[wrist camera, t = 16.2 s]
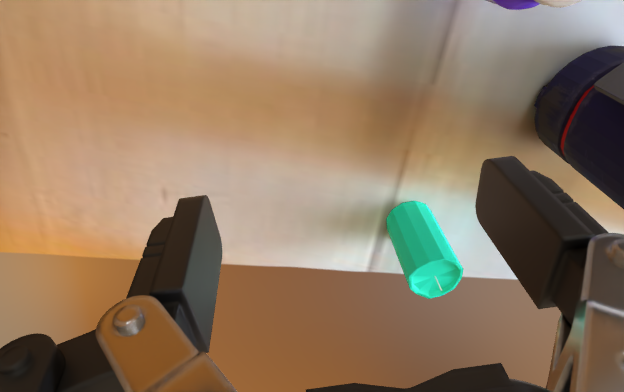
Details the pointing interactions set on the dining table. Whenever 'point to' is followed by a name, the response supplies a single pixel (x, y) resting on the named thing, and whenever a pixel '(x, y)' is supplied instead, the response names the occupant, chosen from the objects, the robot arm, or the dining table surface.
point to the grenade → (588, 118)
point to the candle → (423, 250)
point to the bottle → (532, 3)
